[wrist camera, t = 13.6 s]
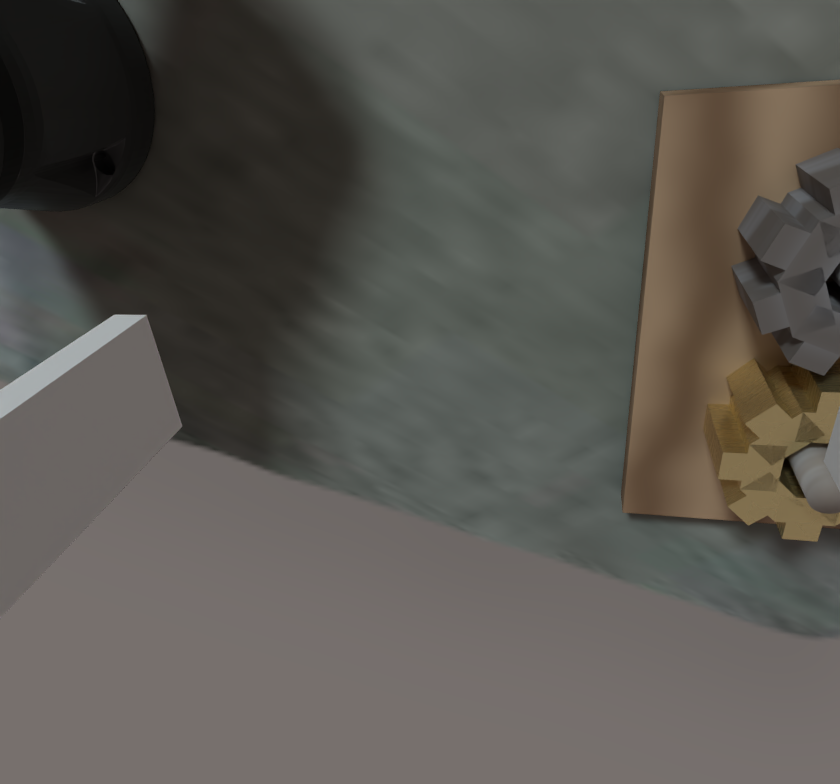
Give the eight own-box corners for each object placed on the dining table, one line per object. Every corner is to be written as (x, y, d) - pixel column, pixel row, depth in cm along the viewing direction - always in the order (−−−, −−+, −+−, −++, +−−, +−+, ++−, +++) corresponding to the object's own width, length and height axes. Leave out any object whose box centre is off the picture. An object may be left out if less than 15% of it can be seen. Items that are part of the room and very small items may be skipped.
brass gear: (717, 344, 36) (735, 389, 32) (910, 348, 34) (957, 396, 30) (694, 479, 41) (707, 532, 37) (863, 489, 39) (897, 548, 35)
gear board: (621, 493, 45) (629, 591, 38) (660, 91, 32) (684, 116, 25) (911, 513, 41) (986, 627, 34) (1090, 63, 28) (1277, 83, 21)
